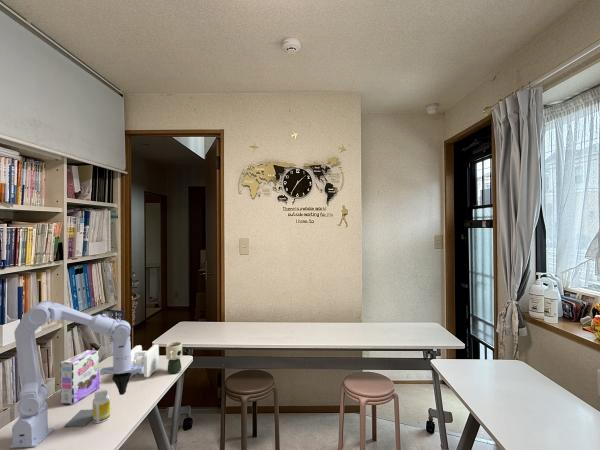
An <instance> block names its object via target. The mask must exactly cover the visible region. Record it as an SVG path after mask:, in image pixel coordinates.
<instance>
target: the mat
mask: <svg viewBox="0 0 600 450" xmlns="http://www.w3.org/2000/svg"><path fill="white" fill-rule="evenodd" d="M91 421H93V408H92V409H80V410H79V411H78V412H77V413H76V414H75V415H74V416H73V417H72V418H71V419H70V420H68V421H67V423H65V424H64V428H75V427H87V425H88V424H89V423H90V422H91Z"/></svg>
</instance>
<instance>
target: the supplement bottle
mask: <svg viewBox="0 0 600 450" xmlns="http://www.w3.org/2000/svg"><path fill="white" fill-rule="evenodd" d="M94 392H95V393H94V399H93V400H92V409H93V418H92V422H93V423H95V424H100V423H104V422H106V421H108V420H109V419H110V418H111V398H110V396H109V395H108V390H107V389H100V390H99V389H98V390H96V391H94Z"/></svg>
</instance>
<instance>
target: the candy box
mask: <svg viewBox="0 0 600 450" xmlns="http://www.w3.org/2000/svg"><path fill="white" fill-rule="evenodd" d="M99 354H100V352H99V350H92V349H91V350H90V349H87V350H85V351H83V352H80V353H79V354H76V355H74V356H72V357H69V358H68V359H65V360H64V361H63V360H62V361H61V362H60V364H59V367H60V404H63V405H64V404H65V405H71V406H72V405H75V404H77V403H78V402H80V401H81V400H83V399H85V398H86V397H88V396H90V395H91V394H93V393H94V392H97V391H99V389H100V355H99Z"/></svg>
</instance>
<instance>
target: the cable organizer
mask: <svg viewBox="0 0 600 450" xmlns="http://www.w3.org/2000/svg"><path fill="white" fill-rule="evenodd" d="M131 365H135V366H144V372H143V373H142V374H141V375H143V376H144V378H150V377H151V376H152V374H153V373H154V372H155V371H156V370H158V367H159V365H160V347H159V344H155V343H154V345H152V346H151V347H150V348H149V349H148V350H143V347H142V345H140V344H139V345H135V346H134V347H133V348H132V349H131ZM134 375H135V376H137V373H132V374H131V376H130V379H131V378H132V377H133V376H134Z"/></svg>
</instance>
